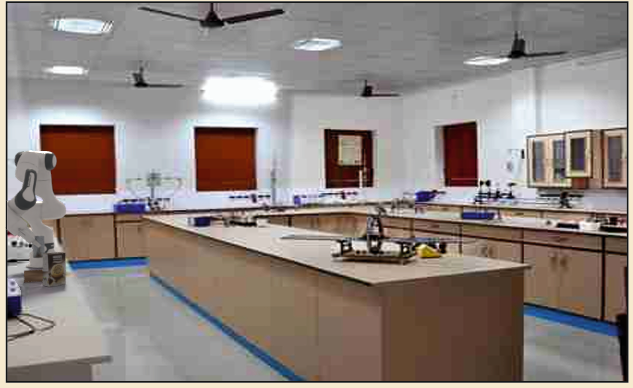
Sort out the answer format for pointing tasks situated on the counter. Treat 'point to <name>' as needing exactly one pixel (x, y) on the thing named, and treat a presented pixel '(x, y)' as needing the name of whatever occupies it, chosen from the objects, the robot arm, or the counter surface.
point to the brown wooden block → (33, 276)
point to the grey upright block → (39, 251)
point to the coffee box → (54, 269)
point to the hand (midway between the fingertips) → (40, 245)
